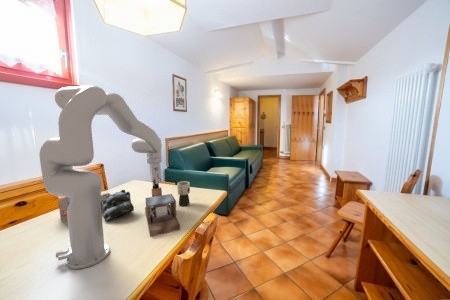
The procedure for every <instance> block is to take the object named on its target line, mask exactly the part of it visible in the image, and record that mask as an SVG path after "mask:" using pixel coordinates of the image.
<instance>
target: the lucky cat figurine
mask: <svg viewBox="0 0 450 300" xmlns="http://www.w3.org/2000/svg"><path fill="white" fill-rule="evenodd" d="M103 204H104V206H103V207H104V210H105V211H104V213H103V215H102V216H103V217H102V218H103V219H104V221H105V222H107V221H109V220H112V219H114V218H116V217H119V216H121V215H125V214H128V213H132V212H134V211H135V207H134V205H133V203H132V200H131V192H130V191H126V190H125V189H122V190H120V191H116V192H114V193H112V194H110V195H109V196H108V198H107V199H104V201H103Z"/></svg>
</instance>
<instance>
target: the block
mask: <svg viewBox="0 0 450 300" xmlns="http://www.w3.org/2000/svg"><path fill="white" fill-rule="evenodd" d="M166 215H168V213H167V204H163V205H158V206H155V216H156V217H161V216H166Z"/></svg>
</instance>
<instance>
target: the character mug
mask: <svg viewBox="0 0 450 300" xmlns="http://www.w3.org/2000/svg"><path fill="white" fill-rule="evenodd" d="M176 184H177V185H176V186H177V188H176V189H177V195H179V197H178V198H179V199H178V205H180V206H188V205H190V197H189V194H190V193H191V182H190V181H187V180H183V181H182V180H181V181H178V182H177V183H176Z"/></svg>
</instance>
